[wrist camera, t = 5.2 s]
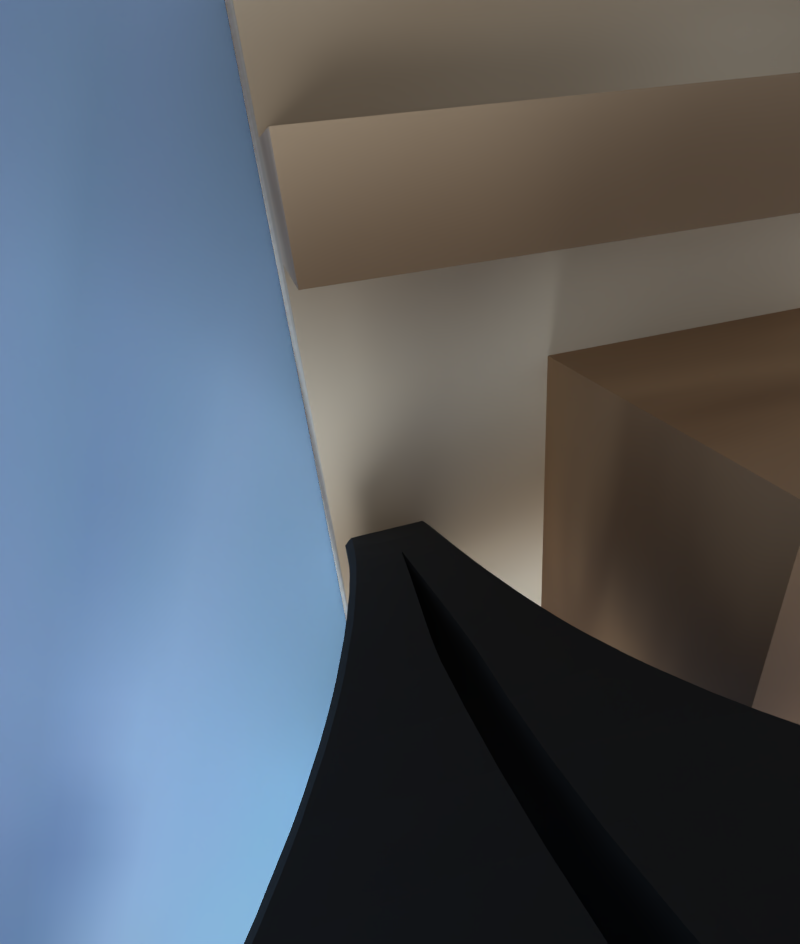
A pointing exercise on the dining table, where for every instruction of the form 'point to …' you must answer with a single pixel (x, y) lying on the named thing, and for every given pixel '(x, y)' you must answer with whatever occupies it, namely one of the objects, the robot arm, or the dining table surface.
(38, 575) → the dining table surface
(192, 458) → the dining table surface
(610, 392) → the walnut block
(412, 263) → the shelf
